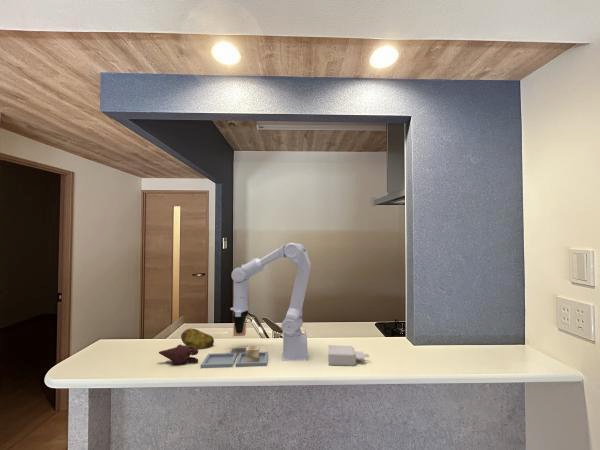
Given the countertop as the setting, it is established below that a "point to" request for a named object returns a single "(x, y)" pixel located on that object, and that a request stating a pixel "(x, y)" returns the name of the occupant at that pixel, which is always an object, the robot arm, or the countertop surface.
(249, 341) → the countertop surface
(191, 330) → the potato
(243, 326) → the letter cube
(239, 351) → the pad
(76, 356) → the countertop surface
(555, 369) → the countertop surface
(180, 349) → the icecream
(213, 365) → the dish
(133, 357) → the countertop surface
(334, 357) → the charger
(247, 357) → the plain cube
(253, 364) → the dish
